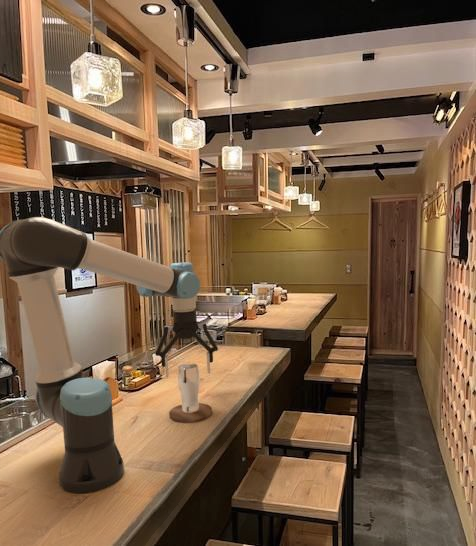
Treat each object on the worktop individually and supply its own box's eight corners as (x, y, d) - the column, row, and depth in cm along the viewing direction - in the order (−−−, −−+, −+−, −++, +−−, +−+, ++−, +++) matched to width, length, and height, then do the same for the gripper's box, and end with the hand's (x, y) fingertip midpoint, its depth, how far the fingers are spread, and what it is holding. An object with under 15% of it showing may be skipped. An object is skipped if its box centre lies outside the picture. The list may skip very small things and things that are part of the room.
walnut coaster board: (191, 426, 138) (191, 422, 137) (160, 417, 146) (160, 413, 146) (220, 411, 149) (220, 407, 149) (189, 403, 157) (189, 400, 157)
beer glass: (197, 415, 143) (194, 369, 142) (177, 414, 145) (174, 369, 143) (203, 406, 150) (201, 363, 149) (184, 406, 151) (181, 363, 150)
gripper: (221, 305, 150) (224, 367, 152) (146, 311, 147) (150, 374, 148) (223, 308, 143) (227, 373, 144) (144, 314, 139) (148, 381, 141)
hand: (188, 374), depth 146 cm, fingers open, 13 cm apart
